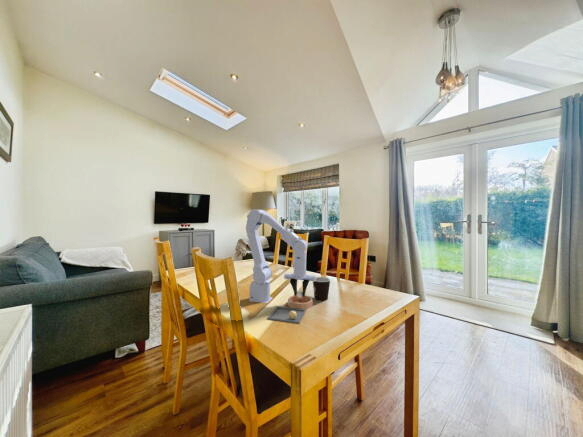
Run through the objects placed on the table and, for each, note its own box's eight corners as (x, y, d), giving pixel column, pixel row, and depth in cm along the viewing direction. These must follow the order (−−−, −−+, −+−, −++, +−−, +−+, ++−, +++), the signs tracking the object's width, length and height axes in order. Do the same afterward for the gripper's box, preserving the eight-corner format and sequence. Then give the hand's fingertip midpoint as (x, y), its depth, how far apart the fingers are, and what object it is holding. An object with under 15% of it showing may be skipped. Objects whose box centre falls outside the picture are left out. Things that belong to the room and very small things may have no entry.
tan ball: (287, 320, 91) (287, 312, 91) (289, 316, 94) (290, 308, 94) (295, 321, 90) (295, 313, 90) (297, 317, 93) (297, 309, 93)
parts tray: (267, 320, 92) (267, 317, 92) (277, 308, 103) (277, 306, 103) (299, 325, 88) (299, 322, 88) (305, 312, 100) (306, 309, 100)
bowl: (285, 308, 103) (285, 302, 103) (291, 300, 114) (291, 293, 114) (309, 311, 100) (309, 304, 100) (314, 302, 111) (314, 296, 111)
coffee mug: (329, 303, 110) (329, 282, 110) (311, 301, 112) (311, 281, 112) (330, 295, 121) (330, 276, 121) (313, 293, 123) (314, 275, 123)
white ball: (295, 298, 106) (295, 291, 106) (297, 296, 110) (297, 289, 109) (302, 299, 106) (302, 292, 106) (303, 297, 109) (303, 290, 109)
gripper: (282, 266, 105) (282, 296, 106) (314, 269, 102) (313, 300, 102) (286, 263, 112) (286, 291, 112) (316, 265, 108) (316, 294, 109)
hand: (299, 295), depth 108 cm, fingers closed on white ball, 3 cm apart
